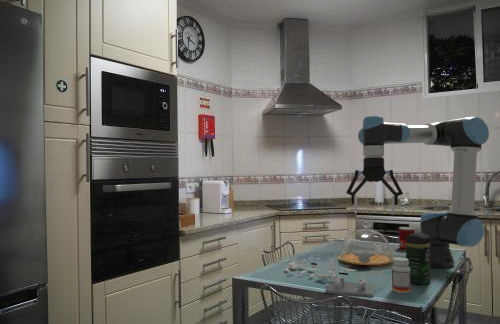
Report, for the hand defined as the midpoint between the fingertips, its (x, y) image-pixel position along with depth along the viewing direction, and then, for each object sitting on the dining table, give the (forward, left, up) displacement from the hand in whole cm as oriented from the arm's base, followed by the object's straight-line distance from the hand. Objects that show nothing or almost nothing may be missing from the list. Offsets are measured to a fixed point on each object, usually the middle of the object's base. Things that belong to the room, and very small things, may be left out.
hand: (374, 213), depth 152 cm
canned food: (-13, -74, -27) cm, 80 cm away
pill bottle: (-9, +7, -27) cm, 29 cm away
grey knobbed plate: (+8, +11, -26) cm, 30 cm away
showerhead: (+6, -27, -27) cm, 39 cm away
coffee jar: (-15, -7, -27) cm, 31 cm away
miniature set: (+24, -5, -26) cm, 36 cm away
